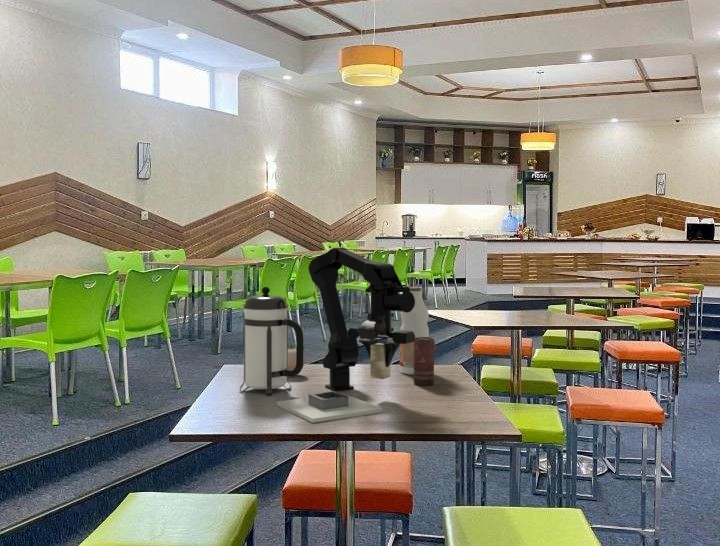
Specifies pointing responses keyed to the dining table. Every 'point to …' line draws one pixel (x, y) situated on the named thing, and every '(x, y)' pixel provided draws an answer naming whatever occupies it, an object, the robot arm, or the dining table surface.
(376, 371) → the square peg
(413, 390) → the dining table surface
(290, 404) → the socket board
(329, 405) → the square socket
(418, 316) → the fruit juice
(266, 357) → the coffee press
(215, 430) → the dining table surface
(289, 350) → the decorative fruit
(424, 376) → the can
